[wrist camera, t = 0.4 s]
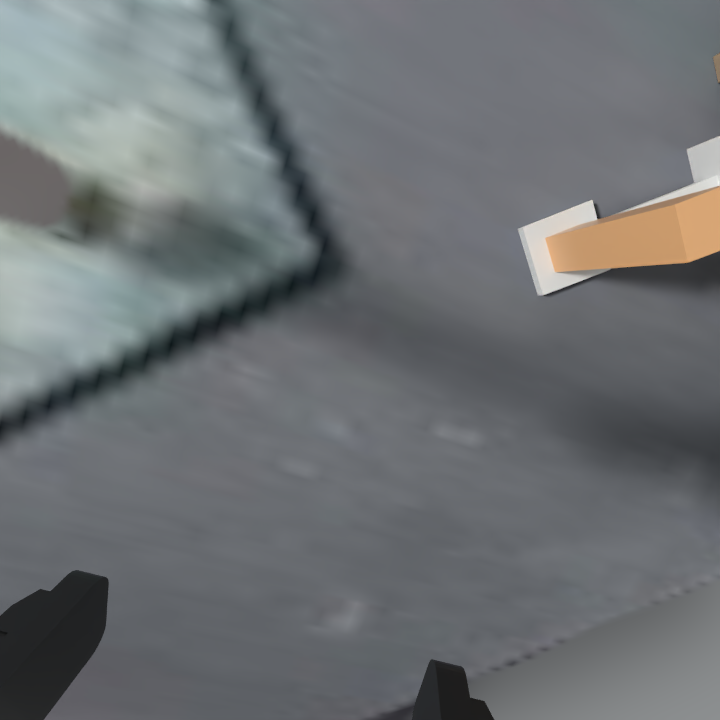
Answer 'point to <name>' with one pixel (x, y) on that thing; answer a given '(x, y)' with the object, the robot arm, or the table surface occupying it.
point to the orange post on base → (630, 230)
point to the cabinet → (717, 65)
